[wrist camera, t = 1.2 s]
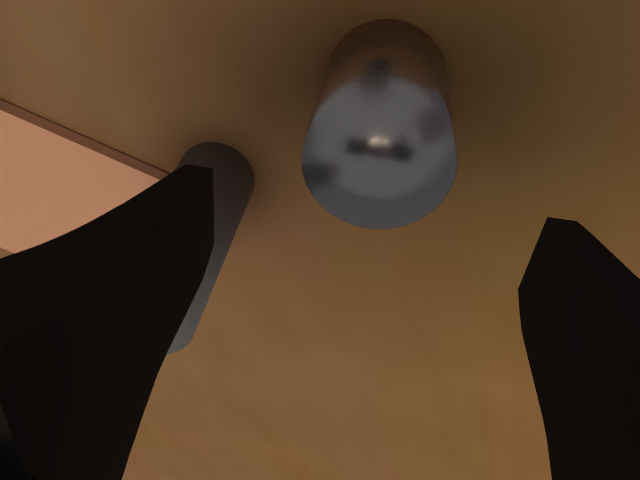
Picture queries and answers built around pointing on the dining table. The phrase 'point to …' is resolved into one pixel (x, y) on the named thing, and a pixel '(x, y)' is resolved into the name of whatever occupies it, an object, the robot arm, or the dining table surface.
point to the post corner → (217, 220)
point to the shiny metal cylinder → (382, 128)
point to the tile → (58, 179)
